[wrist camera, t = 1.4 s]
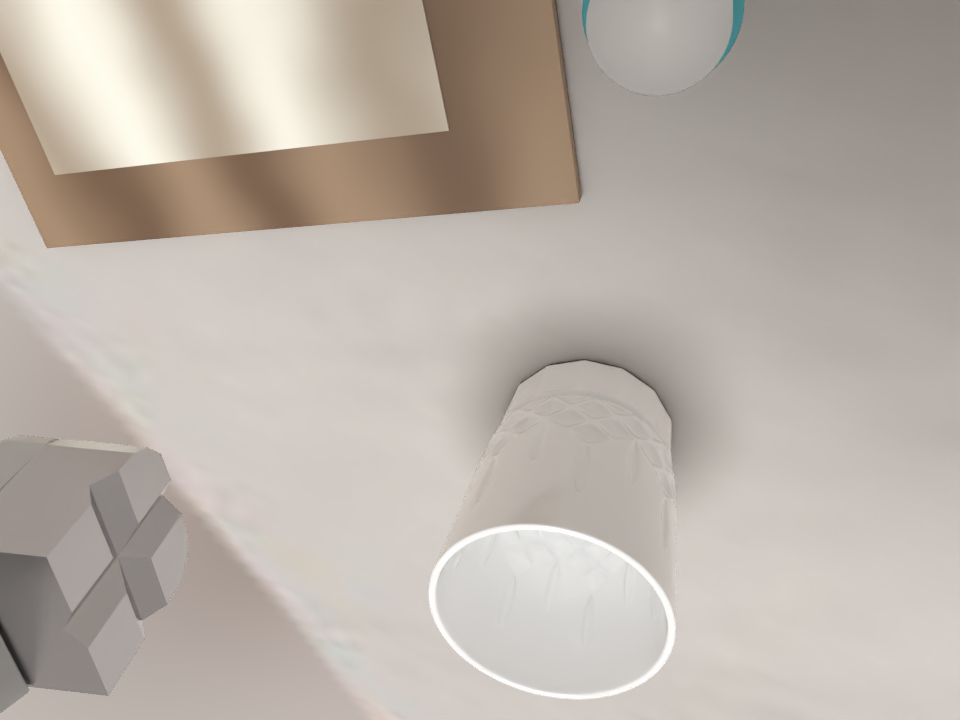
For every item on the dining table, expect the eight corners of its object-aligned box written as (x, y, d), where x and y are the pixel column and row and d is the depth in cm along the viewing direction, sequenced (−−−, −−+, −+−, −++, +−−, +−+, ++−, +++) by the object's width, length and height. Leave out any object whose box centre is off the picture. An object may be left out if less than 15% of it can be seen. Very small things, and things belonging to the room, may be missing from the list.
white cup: (635, 528, 39) (610, 730, 31) (467, 455, 39) (398, 639, 31) (724, 397, 34) (723, 594, 26) (534, 314, 34) (474, 486, 26)
